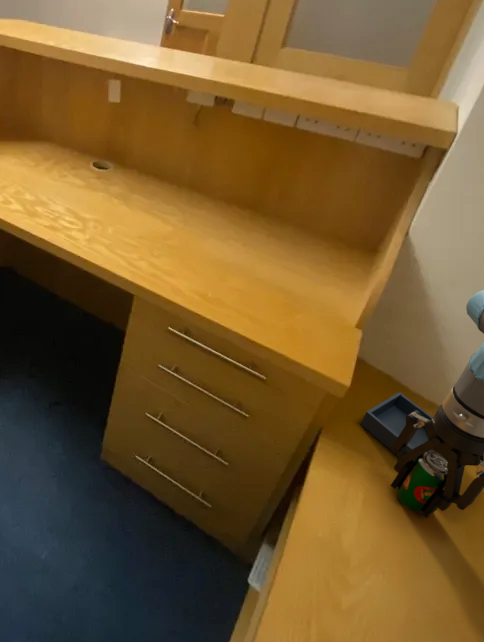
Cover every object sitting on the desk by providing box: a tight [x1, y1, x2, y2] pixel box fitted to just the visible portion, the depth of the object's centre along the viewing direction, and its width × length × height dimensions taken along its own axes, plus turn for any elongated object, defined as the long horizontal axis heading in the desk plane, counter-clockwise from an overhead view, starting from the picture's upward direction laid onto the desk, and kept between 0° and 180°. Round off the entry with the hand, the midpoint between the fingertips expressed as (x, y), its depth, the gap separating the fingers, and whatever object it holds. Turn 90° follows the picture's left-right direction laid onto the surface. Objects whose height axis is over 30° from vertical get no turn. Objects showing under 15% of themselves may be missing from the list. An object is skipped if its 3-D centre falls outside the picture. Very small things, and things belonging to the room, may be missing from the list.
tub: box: [359, 391, 437, 461], centre depth 105 cm, size 11×11×4 cm
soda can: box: [395, 451, 448, 513], centre depth 91 cm, size 5×5×12 cm
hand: (412, 497), depth 94 cm, fingers closed on soda can, 5 cm apart
